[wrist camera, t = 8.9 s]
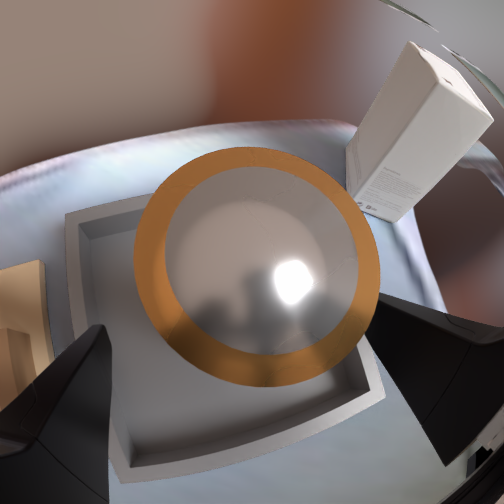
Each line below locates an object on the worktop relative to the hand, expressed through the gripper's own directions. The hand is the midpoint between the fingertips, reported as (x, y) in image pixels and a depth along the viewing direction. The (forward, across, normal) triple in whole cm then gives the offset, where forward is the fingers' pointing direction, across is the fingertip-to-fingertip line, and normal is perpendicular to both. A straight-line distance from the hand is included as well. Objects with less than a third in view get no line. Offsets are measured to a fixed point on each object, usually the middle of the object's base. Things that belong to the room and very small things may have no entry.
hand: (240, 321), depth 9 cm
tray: (+8, 0, +6) cm, 10 cm away
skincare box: (+16, -17, -2) cm, 23 cm away
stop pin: (+7, 0, +5) cm, 9 cm away
